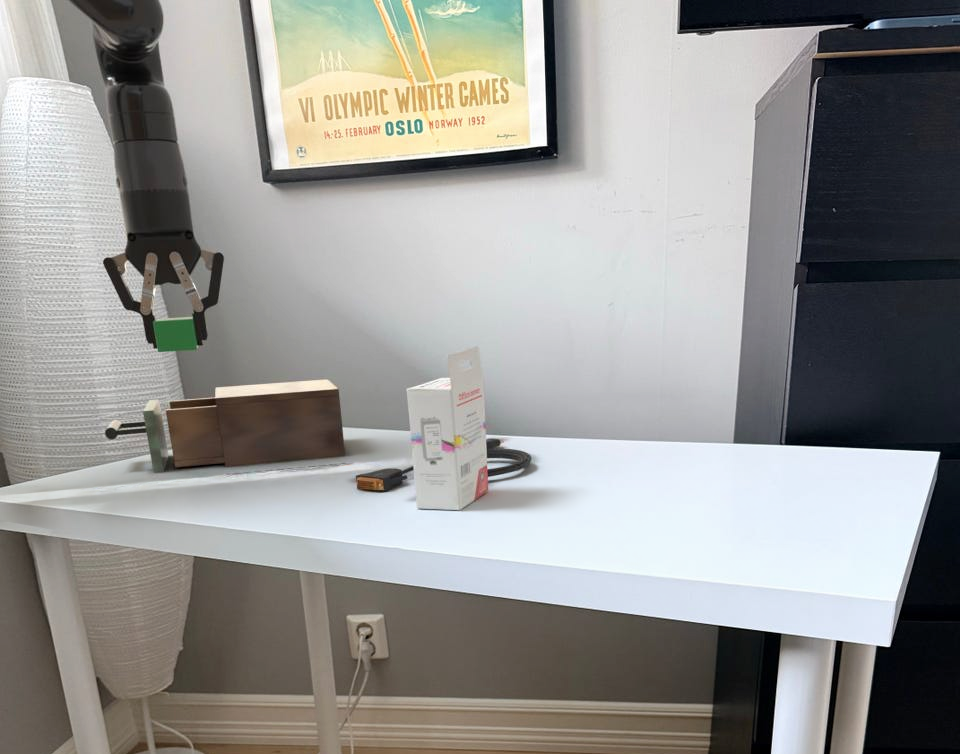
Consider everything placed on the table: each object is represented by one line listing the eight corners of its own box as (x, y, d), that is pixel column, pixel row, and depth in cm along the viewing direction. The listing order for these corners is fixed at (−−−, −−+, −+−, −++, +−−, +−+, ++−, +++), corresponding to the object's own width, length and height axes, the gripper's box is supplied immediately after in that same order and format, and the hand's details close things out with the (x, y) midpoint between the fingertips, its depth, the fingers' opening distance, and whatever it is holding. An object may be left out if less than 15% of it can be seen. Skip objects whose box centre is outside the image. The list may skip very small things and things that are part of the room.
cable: (583, 451, 116) (583, 439, 115) (453, 501, 94) (452, 486, 94) (492, 445, 123) (491, 434, 122) (352, 489, 101) (350, 476, 101)
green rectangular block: (157, 352, 107) (152, 321, 106) (162, 347, 115) (157, 318, 113) (197, 349, 108) (192, 318, 107) (198, 345, 116) (194, 316, 114)
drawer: (110, 477, 110) (98, 414, 107) (119, 460, 120) (109, 403, 118) (268, 462, 114) (260, 401, 111) (263, 447, 124) (256, 392, 122)
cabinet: (226, 474, 113) (215, 398, 109) (225, 457, 124) (215, 387, 121) (346, 463, 116) (338, 388, 113) (334, 447, 127) (327, 379, 124)
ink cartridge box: (446, 490, 99) (437, 346, 94) (489, 491, 97) (483, 345, 92) (413, 509, 92) (401, 354, 86) (460, 511, 90) (451, 353, 84)
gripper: (218, 190, 110) (239, 341, 116) (91, 194, 107) (119, 348, 113) (218, 184, 103) (239, 344, 110) (82, 188, 100) (112, 353, 106)
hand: (178, 346), depth 111 cm, fingers closed on green rectangular block, 4 cm apart
